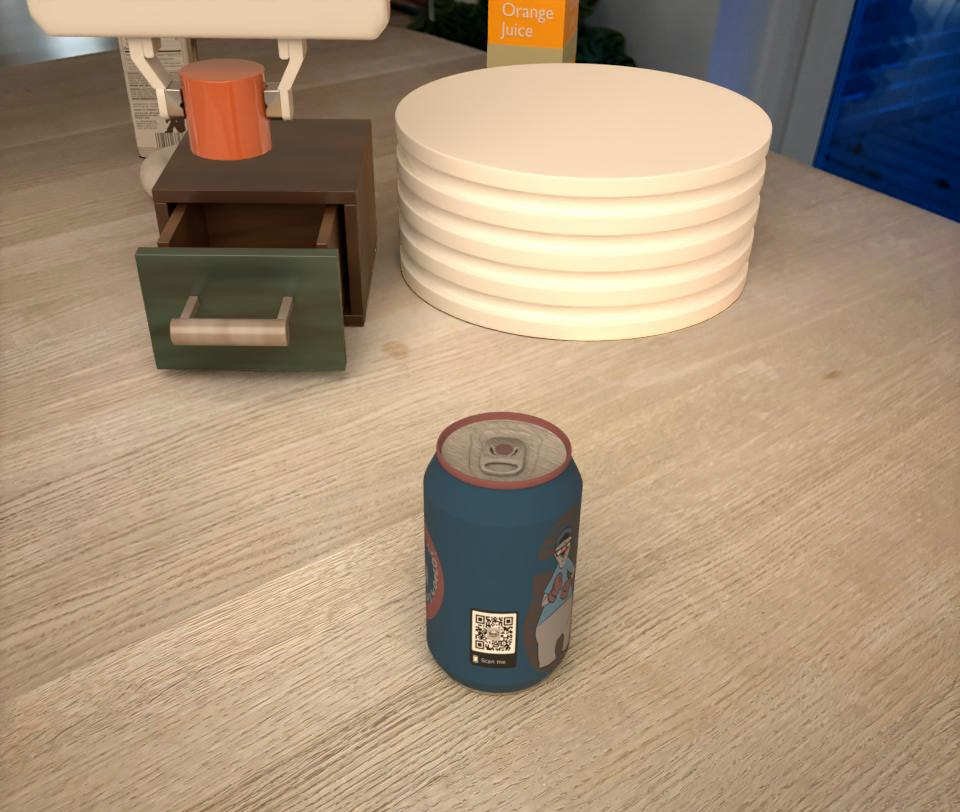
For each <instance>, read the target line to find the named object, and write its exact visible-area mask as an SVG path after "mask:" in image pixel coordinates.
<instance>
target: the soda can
mask: <svg viewBox="0 0 960 812" xmlns="http://www.w3.org/2000/svg"><path fill="white" fill-rule="evenodd" d="M435 446H436V447H435V448H436V449H435V452H434V454H433V456H432V458H431V459H430V460H429V463H428V464H427V467H426V469H425V471H424V474H423V480H422V490H423V492H422V494H423V496H422V497H423V535H424V536H423V537H424V539H423V540H424V542H423V543H424V581H425V582H424V584H425V585H424V587H425V630H426V631H425V632H426V634H425V635H426V644H427V647H428V650H429V652H430V654H431V656H432V658H433V659H434V661H435V662H436V663H437V665H438V666H439V667H440V668H441V669H442V670H443V672H444V673H445V674H447V676H448V677H449V678H450V679H451V680H452V681H454V682H455V683H456V684H457V685H459V686H461V687H463V688H464V689H466V690H469V691H472V692H474V693H476V694H477V693H478V694H482V695H488V696H509V695H510V696H512V695H516V694H521V693H523V692H526V691H529V690H532V689H533V688H535V687H537V686H538V685H539V684H541V683H542V682H543V681H545V679H547V678H548V677H549V676H550V675H551V674H552V673H553V672H554V671H555V670H556V669H557V668H558V667H559V666H560V664H561V663H562V662H563V660H564V659H565V657H566V656H567V653H568V650H569V648H570V643H571V630H572V619H573V607H574V594H575V586H576V585H575V584H576V583H575V582H576V573H577V559H578V548H579V538H580V537H579V536H580V526H581V525H580V523H581V513H582V512H581V511H582V501H583V500H582V499H583V488H584V482H583V477H582V474H581V472H580V470H579V467H578V466H577V464H576V461H575V459H574V458H573V456H572V454H573V448H572V442H571V441H570V438H569V437H568V436H567V434H566V433H565V432H564V431H563V430H562V429H561V428H560V427H558V426H557V425H556V424H554V423H552V422H551V421H548V420H546V419H543V418H541V417H539V416H535V415H531V414H526V413H521V412H514V411H513V412H512V411H489V412H483V413H476V414H472V415H469V416H466V417H463V418H461V419H458V420H456V421H454V422H453V423H451V424H449V425H448V426H447V427H445V428H444V429H443V430H442V431H441V433H440V434H439V436H438V438H437V441H436V445H435Z"/></svg>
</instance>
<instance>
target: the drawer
mask: <svg viewBox="0 0 960 812" xmlns="http://www.w3.org/2000/svg"><path fill="white" fill-rule="evenodd" d="M134 259H135V266H136V271H137V275H138V279H139V285H140V291H141V296H142V301H143V306H144V310H145V316H146V321H147V322H146V323H147V327H148V331H149V332H148V333H149V336H150V337H149V338H150V341H151V347H152V352H153V357H154V363H155V367H156V370H163V371H165V370H170V371H173V370H177V371H178V370H179V371H180V370H181V371H182V370H183V371H184V370H185V371H188V370H189V371H194V370H195V371H301V372H302V371H305V372H306V371H307V372H309V371H313V372H316V371H317V372H318V371H319V372H320V371H321V372H345V371H346V367H347V363H348V362H347V349H346V348H347V347H346V336H345V326H344V320H343V310H344V305H345V300H346V295H347V289H348V284H349V276H348V261H347V246H346V231H345V217H344V204H266V203H177V205H176V207H175V209H174V211H173V213H172V215H171V217H170V218H169V220H168V222H167V224H166V226H165V228H164V230H163V231H162V233H161V235H159V237H158V239H157V240H156V247H155V246H138V247H137V249H136V251H135V253H134Z"/></svg>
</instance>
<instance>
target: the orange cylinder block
mask: <svg viewBox="0 0 960 812" xmlns="http://www.w3.org/2000/svg"><path fill="white" fill-rule="evenodd" d="M179 77H180V83H181V90H182V96H183V103H184V109H185V116H186V122H187V129H188V136H189V142H190V149H191V151H192V153H193V154H195V155H197V156H199V157H202V158H206V159H211V160H223V161H231V160H243V159H249V158H253V157H257V156H260V155H263V154H265V153H267V152H269V151H270V150H271V149H272V147H273V141H272V131H271V122H270V120H267V118H266V108H267V105H266V103H265V101H264V89H265V87H267V86H266V84H267V77H266V68H265V66H264V65H263V64H261V63H259V62H257V61H253V60H248V59H243V58H211V59H205V60H199V61H198V62H194V63H191V64H188V65H186V66H184V67H182V68H181V69H180V70H179Z"/></svg>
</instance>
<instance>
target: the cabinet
mask: <svg viewBox="0 0 960 812" xmlns="http://www.w3.org/2000/svg"><path fill="white" fill-rule="evenodd" d="M270 122H271V131H272V141H273V147H272V149H271V150H270V151H269V152H267V153H265V154H263V155H260V156H257V157H253V158H249V159H243V160H231V161H223V160H211V159H206V158H202V157H199V156H197V155H195V154H193V153H192V151H191V149H190V142H189V136H188V129H187V131H186V133H185V134H184V136H183V138H182V139H181V141H180V143H179V144H178V146H177V148H176V149H175V151H174V153H173V154H172V156H171V158H170V159H169V161H168V163H167V164H166V166H165V168H164V169H163V171H162V173H161V174H160V176H159V178H158V179H157V181H156V183H155V184H154V186H153V188H152V196H153V198H152V201H153V205H154V206H153V207H154V213H155V218H156V222H157V229H158V235H159V236H160V235H161V233H162V231H163V230H164V228H165V226H166V224H167V222H168V220H169V218H170V217H171V215H172V213H173V211H174V209H175V207H176V205H177V203H266V204H344V217H345V231H346V246H347V261H348V276H349V284H348V289H347V295H346V300H345V305H344V310H343V320H344V327H364V326H365V322H366V317H367V310H368V304H369V298H370V291H371V286H372V285H371V284H372V278H373V272H372V270H373V271H374V266H373V263H374V264H375V259H374V256H375V257H376V253H375V249H376V250H377V247H376V242H377V243H378V233H377V232H378V231H377V230H378V229H377V227H378V226H377V209H376V207H377V206H376V190H375V188H376V187H375V170H374V169H375V167H374V149H373V146H374V145H373V132H372V131H373V127H372V119H370V118H368V119H366V118H365V119H364V118H358V119H357V118H292V120H291V121H287V120H270Z"/></svg>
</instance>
